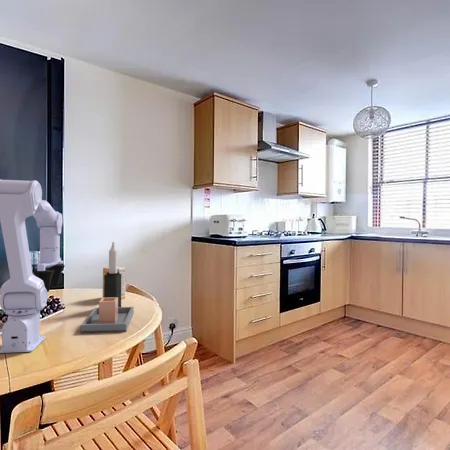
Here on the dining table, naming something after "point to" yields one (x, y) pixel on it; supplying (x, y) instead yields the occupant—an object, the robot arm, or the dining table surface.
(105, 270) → the supplement box
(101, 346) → the dining table surface
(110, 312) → the cup
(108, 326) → the tray
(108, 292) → the candle
